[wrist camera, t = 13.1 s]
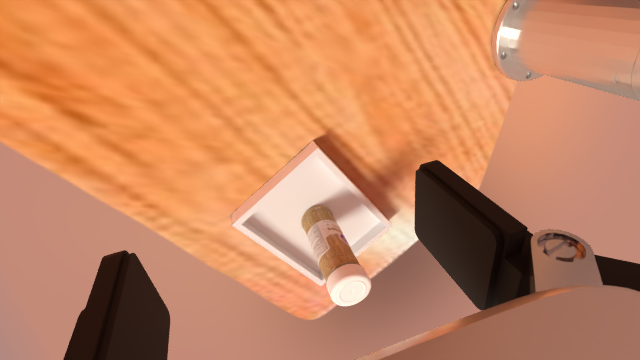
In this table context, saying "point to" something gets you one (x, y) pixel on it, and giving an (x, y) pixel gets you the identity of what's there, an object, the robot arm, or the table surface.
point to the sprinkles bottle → (335, 257)
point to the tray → (299, 196)
